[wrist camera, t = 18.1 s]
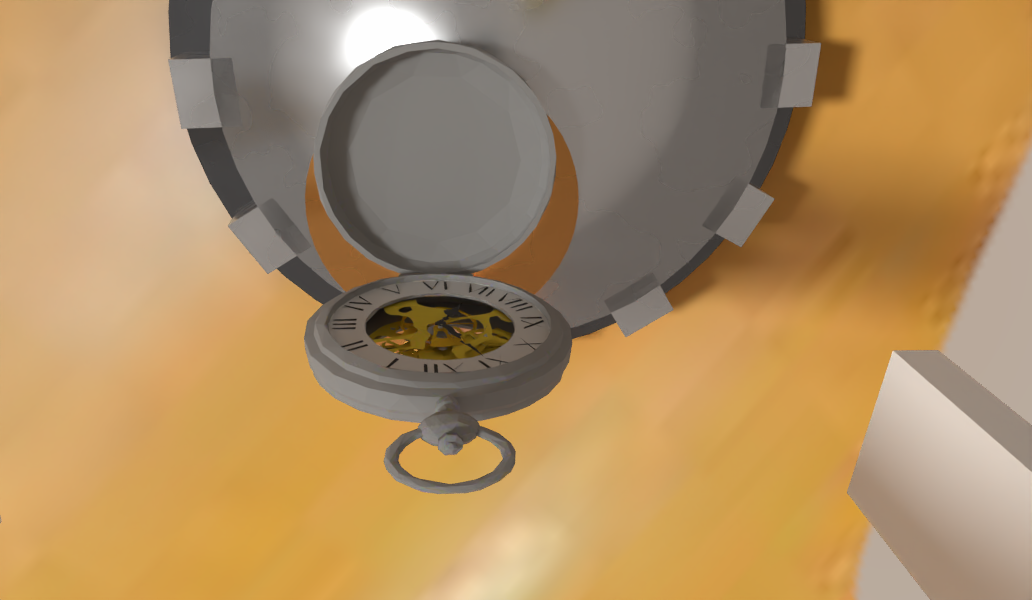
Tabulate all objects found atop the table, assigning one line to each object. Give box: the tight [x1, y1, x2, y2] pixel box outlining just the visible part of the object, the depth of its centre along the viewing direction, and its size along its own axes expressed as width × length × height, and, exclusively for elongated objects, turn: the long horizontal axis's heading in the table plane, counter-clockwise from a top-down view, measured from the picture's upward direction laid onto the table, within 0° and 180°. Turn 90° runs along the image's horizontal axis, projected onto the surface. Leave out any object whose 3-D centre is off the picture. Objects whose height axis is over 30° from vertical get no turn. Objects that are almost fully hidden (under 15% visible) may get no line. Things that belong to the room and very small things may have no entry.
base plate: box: [169, 0, 806, 344], centre depth 23 cm, size 19×19×1 cm
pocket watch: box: [304, 40, 572, 494], centre depth 18 cm, size 8×8×10 cm
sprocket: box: [168, 0, 821, 353], centre depth 19 cm, size 18×18×8 cm
